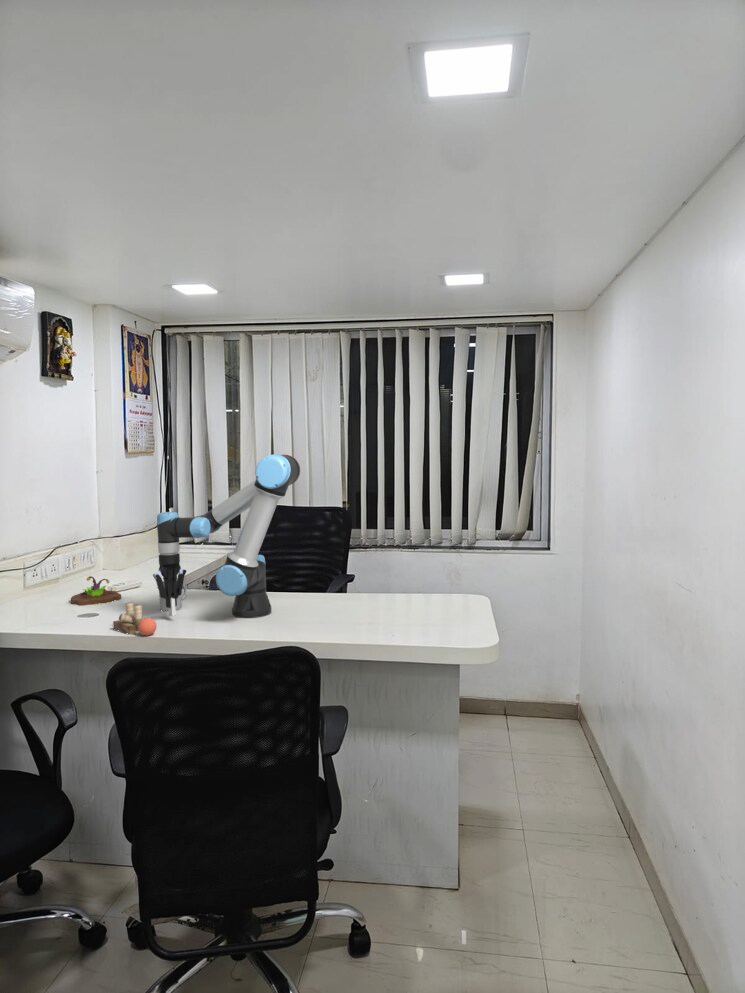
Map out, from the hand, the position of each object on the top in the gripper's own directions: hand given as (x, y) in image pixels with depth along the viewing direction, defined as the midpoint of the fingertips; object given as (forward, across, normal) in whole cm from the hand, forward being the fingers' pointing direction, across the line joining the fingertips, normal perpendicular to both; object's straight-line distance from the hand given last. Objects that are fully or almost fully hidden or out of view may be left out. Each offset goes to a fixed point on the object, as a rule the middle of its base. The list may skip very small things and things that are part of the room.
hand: (171, 615), depth 246 cm
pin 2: (+2, +15, +3) cm, 16 cm away
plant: (+3, 0, -62) cm, 62 cm away
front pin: (+1, +12, 0) cm, 12 cm away
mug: (+2, -12, -18) cm, 22 cm away
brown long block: (+2, +19, 0) cm, 19 cm away
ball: (-1, +16, +12) cm, 20 cm away
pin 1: (+2, +15, -3) cm, 15 cm away
